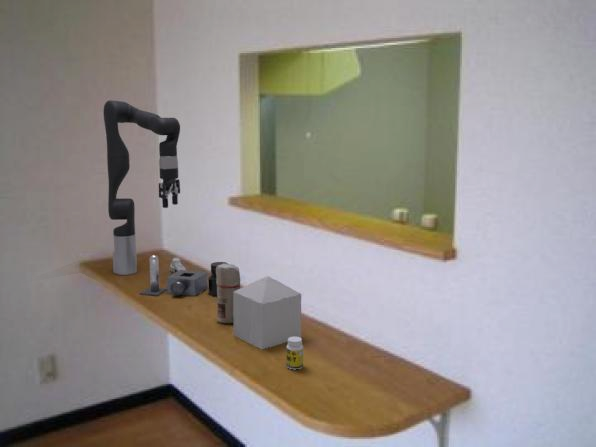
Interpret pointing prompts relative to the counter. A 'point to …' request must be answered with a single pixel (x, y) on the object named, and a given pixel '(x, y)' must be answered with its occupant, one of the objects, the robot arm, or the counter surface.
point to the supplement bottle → (294, 353)
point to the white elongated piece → (176, 265)
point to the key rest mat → (148, 292)
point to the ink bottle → (214, 278)
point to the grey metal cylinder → (154, 273)
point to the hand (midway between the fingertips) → (170, 206)
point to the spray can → (226, 291)
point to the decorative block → (266, 313)
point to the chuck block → (187, 282)
